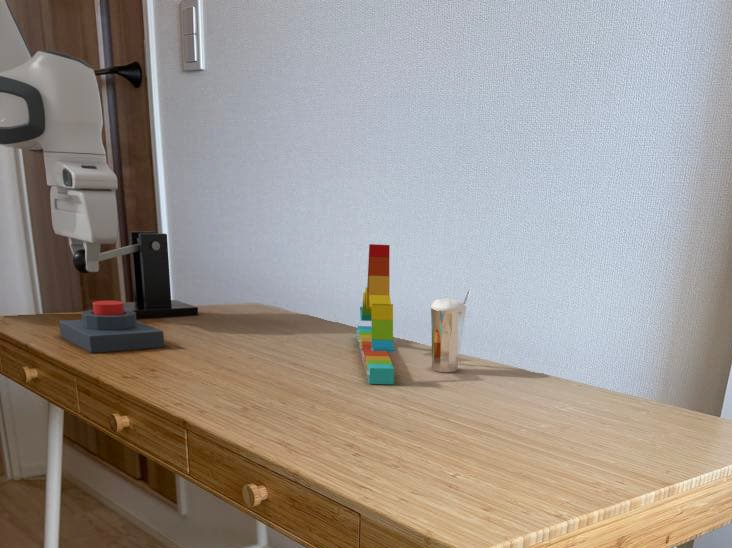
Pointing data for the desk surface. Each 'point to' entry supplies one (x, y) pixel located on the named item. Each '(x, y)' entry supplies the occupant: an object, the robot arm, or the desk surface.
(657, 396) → the desk surface
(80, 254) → the tap lever
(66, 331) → the button block
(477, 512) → the desk surface
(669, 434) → the desk surface
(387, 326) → the chart
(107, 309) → the button
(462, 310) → the milkshake
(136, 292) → the black lever stand
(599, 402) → the desk surface
